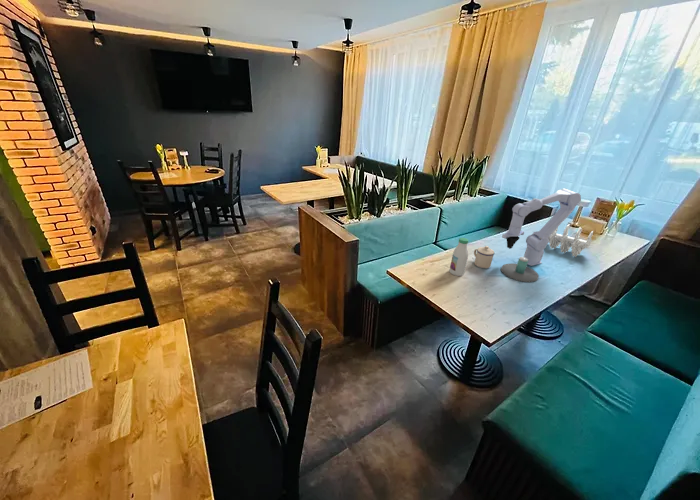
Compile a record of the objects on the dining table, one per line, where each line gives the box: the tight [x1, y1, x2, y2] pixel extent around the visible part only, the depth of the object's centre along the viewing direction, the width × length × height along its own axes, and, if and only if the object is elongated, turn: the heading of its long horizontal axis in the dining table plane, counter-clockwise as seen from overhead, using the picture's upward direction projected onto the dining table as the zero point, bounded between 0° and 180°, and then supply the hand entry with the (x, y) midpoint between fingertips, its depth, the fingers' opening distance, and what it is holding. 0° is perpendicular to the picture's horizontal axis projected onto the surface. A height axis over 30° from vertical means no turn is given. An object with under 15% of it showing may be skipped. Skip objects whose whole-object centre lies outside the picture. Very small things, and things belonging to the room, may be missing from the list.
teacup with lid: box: [473, 245, 495, 269], centre depth 165 cm, size 12×9×12 cm
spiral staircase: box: [540, 223, 594, 258], centre depth 181 cm, size 18×18×25 cm
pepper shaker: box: [515, 256, 528, 274], centre depth 157 cm, size 4×4×8 cm
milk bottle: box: [448, 237, 469, 277], centre depth 154 cm, size 8×8×20 cm
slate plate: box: [500, 263, 539, 283], centre depth 159 cm, size 18×18×1 cm
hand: (509, 247), depth 166 cm, fingers closed
